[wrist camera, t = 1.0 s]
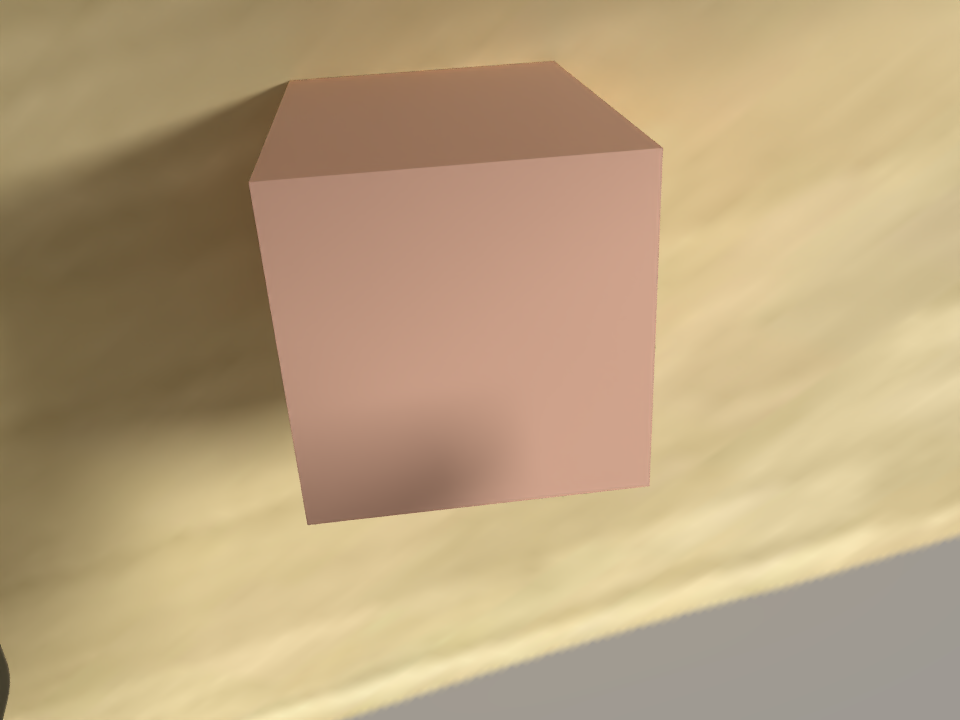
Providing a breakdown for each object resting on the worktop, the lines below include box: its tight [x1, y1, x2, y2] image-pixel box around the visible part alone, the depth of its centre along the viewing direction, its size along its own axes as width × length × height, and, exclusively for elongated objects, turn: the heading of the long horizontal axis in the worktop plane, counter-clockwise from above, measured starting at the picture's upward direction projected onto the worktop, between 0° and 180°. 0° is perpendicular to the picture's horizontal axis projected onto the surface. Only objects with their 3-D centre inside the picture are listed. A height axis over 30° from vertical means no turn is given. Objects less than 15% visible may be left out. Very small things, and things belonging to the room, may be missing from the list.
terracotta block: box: [249, 61, 663, 525], centre depth 15 cm, size 5×5×7 cm
